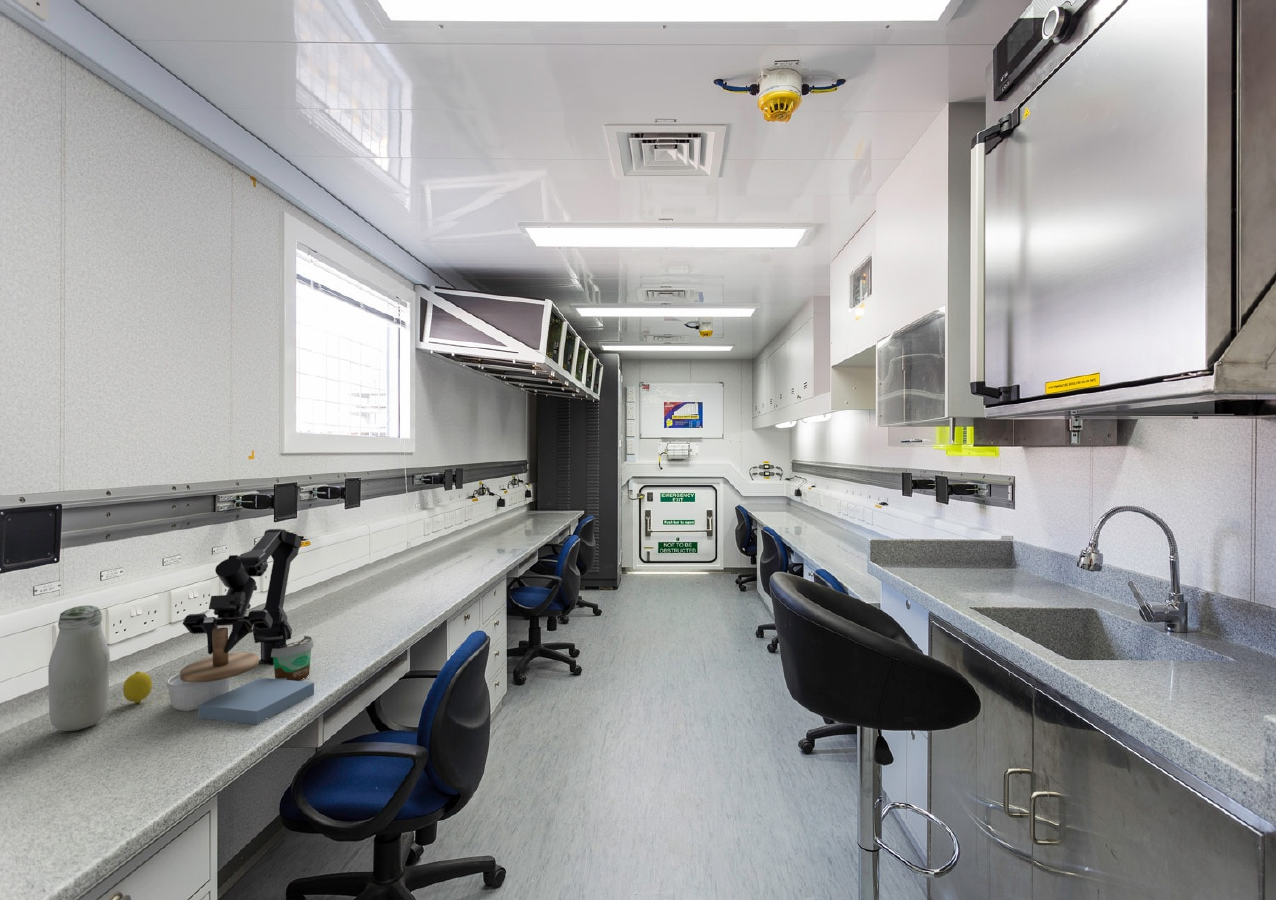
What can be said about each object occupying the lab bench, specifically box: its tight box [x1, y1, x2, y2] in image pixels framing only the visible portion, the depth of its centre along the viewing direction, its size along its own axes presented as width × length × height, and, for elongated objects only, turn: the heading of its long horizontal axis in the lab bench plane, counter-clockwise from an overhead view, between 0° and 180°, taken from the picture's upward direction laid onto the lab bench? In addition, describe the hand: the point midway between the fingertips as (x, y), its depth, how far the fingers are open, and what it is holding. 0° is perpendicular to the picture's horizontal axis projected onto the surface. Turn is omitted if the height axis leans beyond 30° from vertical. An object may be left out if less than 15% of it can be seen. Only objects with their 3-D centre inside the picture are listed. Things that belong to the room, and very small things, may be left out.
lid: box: [179, 627, 260, 683], centre depth 144 cm, size 16×16×10 cm
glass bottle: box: [47, 605, 111, 732], centre depth 132 cm, size 10×10×28 cm
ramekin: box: [166, 672, 232, 711], centre depth 146 cm, size 13×13×7 cm
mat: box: [198, 677, 315, 725], centre depth 143 cm, size 17×17×3 cm
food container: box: [271, 635, 315, 681], centre depth 160 cm, size 12×6×10 cm, turn 168°
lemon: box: [122, 670, 153, 704], centre depth 145 cm, size 6×6×8 cm
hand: (217, 653), depth 142 cm, fingers closed on lid, 3 cm apart
